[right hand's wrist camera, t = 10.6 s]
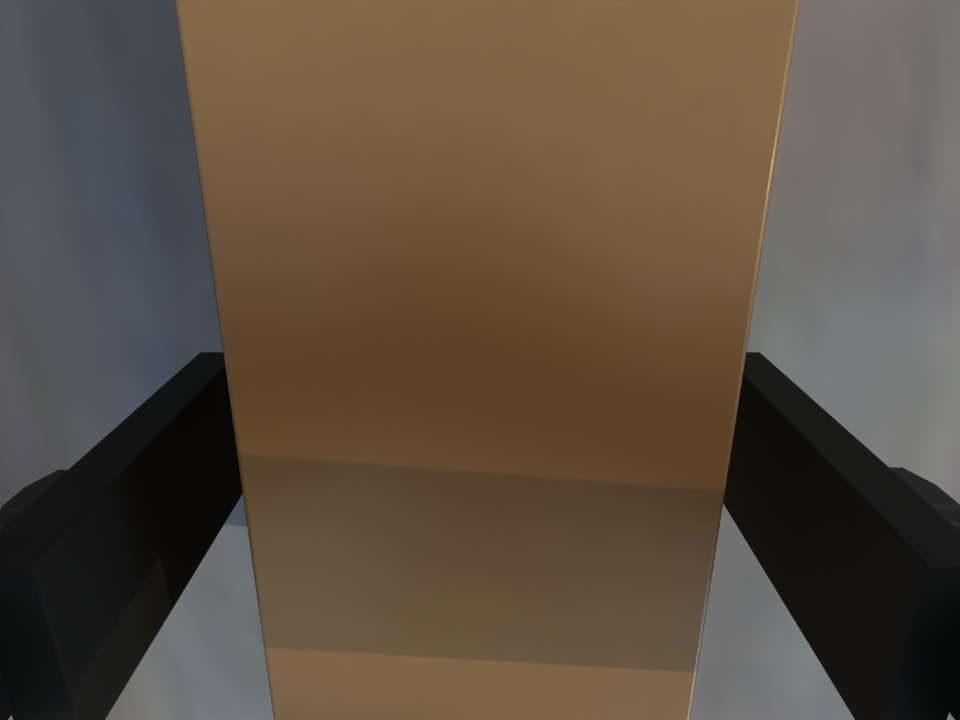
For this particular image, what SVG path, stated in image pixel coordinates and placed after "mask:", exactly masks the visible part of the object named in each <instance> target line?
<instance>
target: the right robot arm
mask: <svg viewBox="0 0 960 720" xmlns="http://www.w3.org/2000/svg"><path fill="white" fill-rule="evenodd" d="M242 494H243V490H242V483H241V476H240V469H239V461H238V454H237V447H236V440H235V432H234V425H233V418H232V411H231V404H230V396H229V389H228V382H227V375H226V367H225V360H224V353H223V352H200V353H199V354H198V355H197V356H196V357H195V358H194V359H193V360H191V361H190V362H189V363H188V364H187V365H186V366H185V367H184V368H182V369H181V370H180V371H179V372H178V373H177V374H176V375H175V376H173V377H172V378H171V379H170V380H169V381H168V382H167V383H166V384H164V385H163V386H162V387H161V388H160V389H159V390H158V391H157V392H155V393H154V394H153V395H152V396H151V397H150V398H149V399H148V400H146V401H145V402H144V403H143V404H142V405H141V406H140V407H139V408H137V409H136V410H135V411H134V412H133V413H132V414H131V415H130V416H128V417H127V418H126V419H125V420H124V421H123V422H122V423H121V424H119V425H118V426H117V427H116V428H115V429H114V430H113V431H112V432H110V433H109V434H108V435H107V436H106V437H105V438H104V439H103V440H101V441H100V442H99V443H98V444H97V445H96V446H95V447H94V448H92V449H91V450H90V451H89V452H88V453H87V454H86V455H85V456H83V457H82V458H81V459H80V460H79V461H78V462H77V463H76V464H74V465H73V466H72V467H71V468H70V469H69V470H57V471H55V472H53V473H51V474H50V475H48V476H46V477H44V478H42V479H40V480H38V481H36V482H34V483H32V484H30V485H28V486H26V487H24V488H23V489H22V490H21V491H20V492H19V493H17V494H16V495H15V496H14V497H13V498H11V499H10V500H9V501H8V502H7V503H5V504H4V505H3V506H2V507H1V510H0V720H8V719H9V717H10V716H11V715H12V717H13V720H105V719H106V717H107V715H108V714H109V712H110V710H111V709H112V707H113V706H114V704H115V702H116V701H117V699H118V697H119V696H120V694H121V692H122V691H123V689H124V687H125V686H126V684H127V683H128V681H129V679H130V678H131V676H132V674H133V673H134V671H135V669H136V668H137V666H138V664H139V663H140V661H141V660H142V658H143V656H144V655H145V653H146V651H147V650H148V648H149V646H150V645H151V643H152V642H153V640H154V638H155V637H156V635H157V633H158V632H159V630H160V628H161V627H162V625H163V623H164V622H165V620H166V619H167V617H168V615H169V614H170V612H171V610H172V609H173V607H174V605H175V604H176V602H177V600H178V599H179V597H180V596H181V594H182V592H183V591H184V589H185V587H186V586H187V584H188V582H189V581H190V579H191V578H192V576H193V574H194V573H195V571H196V569H197V568H198V566H199V564H200V563H201V561H202V559H203V558H204V556H205V555H206V553H207V551H208V550H209V548H210V546H211V545H212V543H213V541H214V540H215V538H216V536H217V535H218V533H219V532H220V530H221V528H222V527H223V525H224V523H225V522H226V520H227V518H228V517H229V515H230V513H231V512H232V510H233V509H234V507H235V505H236V504H237V502H238V500H239V499H240V497H241V495H242ZM723 504H724V505H725V507H726V509H727V510H728V512H729V513H730V515H731V517H732V518H733V520H734V522H735V523H736V525H737V527H738V528H739V530H740V532H741V533H742V535H743V536H744V538H745V540H746V541H747V543H748V545H749V546H750V548H751V550H752V551H753V553H754V555H755V556H756V558H757V559H758V561H759V563H760V564H761V566H762V568H763V569H764V571H765V573H766V574H767V576H768V577H769V579H770V581H771V582H772V584H773V586H774V587H775V589H776V591H777V592H778V594H779V596H780V597H781V599H782V600H783V602H784V604H785V605H786V607H787V609H788V610H789V612H790V614H791V615H792V617H793V619H794V620H795V622H796V623H797V625H798V627H799V628H800V630H801V632H802V633H803V635H804V637H805V638H806V640H807V642H808V643H809V645H810V646H811V648H812V650H813V651H814V653H815V655H816V656H817V658H818V660H819V661H820V663H821V664H822V666H823V668H824V669H825V671H826V673H827V674H828V676H829V678H830V679H831V681H832V683H833V684H834V686H835V687H836V689H837V691H838V692H839V694H840V696H841V697H842V699H843V701H844V702H845V704H846V706H847V707H848V709H849V710H850V712H851V714H852V715H853V717H854V719H855V720H947V717H948V714H949V712H950V714H951V715H952V716H953V718H954V719H955V720H960V505H959V504H958V503H957V502H956V501H955V500H953V499H952V498H951V497H950V496H949V495H947V494H946V493H945V492H944V491H943V490H941V489H940V488H939V487H938V486H937V485H935V484H933V483H931V482H929V481H927V480H925V479H923V478H921V477H920V476H918V475H916V474H914V473H912V472H910V471H908V470H906V469H904V468H889V467H888V466H887V465H886V464H884V463H883V462H882V461H881V460H880V459H879V458H878V457H877V456H875V455H874V454H873V453H872V452H871V451H870V450H869V449H868V448H866V447H865V446H864V445H863V444H862V443H861V442H860V441H859V440H857V439H856V438H855V437H854V436H853V435H852V434H851V433H850V432H848V431H847V430H846V429H845V428H844V427H843V426H842V425H841V424H839V423H838V422H837V421H836V420H835V419H834V418H833V417H832V416H830V415H829V414H828V413H827V412H826V411H825V410H824V409H823V408H821V407H820V406H819V405H818V404H817V403H816V402H815V401H814V400H812V399H811V398H810V397H809V396H808V395H807V394H806V393H805V392H803V391H802V390H801V389H800V388H799V387H798V386H797V385H796V384H794V383H793V382H792V381H791V380H790V379H789V378H788V377H787V376H785V375H784V374H783V373H782V372H781V371H780V370H779V369H778V368H776V367H775V366H774V365H773V364H772V363H771V362H770V361H769V360H767V359H766V358H765V357H764V356H763V355H762V354H761V353H760V352H746V357H745V363H744V370H743V376H742V383H741V389H740V396H739V402H738V409H737V415H736V422H735V428H734V435H733V441H732V448H731V454H730V461H729V467H728V474H727V480H726V487H725V493H724V500H723Z"/></svg>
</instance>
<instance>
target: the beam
mask: <svg viewBox="0 0 960 720" xmlns="http://www.w3.org/2000/svg"><path fill="white" fill-rule="evenodd" d="M175 6H176V13H177V20H178V27H179V35H180V42H181V49H182V56H183V64H184V71H185V78H186V85H187V92H188V100H189V107H190V114H191V121H192V129H193V136H194V143H195V150H196V158H197V165H198V172H199V179H200V187H201V194H202V201H203V208H204V215H205V223H206V230H207V237H208V244H209V252H210V259H211V266H212V273H213V281H214V288H215V295H216V302H217V310H218V317H219V324H220V331H221V338H222V346H223V353H224V360H225V367H226V375H227V382H228V389H229V396H230V404H231V411H232V418H233V425H234V432H235V440H236V447H237V454H238V461H239V469H240V476H241V483H242V490H243V498H244V505H245V512H246V519H247V527H248V534H249V541H250V548H251V555H252V563H253V570H254V577H255V584H256V592H257V599H258V606H259V613H260V621H261V628H262V635H263V642H264V650H265V657H266V664H267V671H268V678H269V686H270V693H271V700H272V707H273V715H274V720H690V714H691V707H692V701H693V694H694V688H695V681H696V675H697V669H698V662H699V656H700V649H701V643H702V636H703V630H704V623H705V617H706V610H707V604H708V597H709V591H710V584H711V578H712V571H713V565H714V558H715V552H716V545H717V539H718V532H719V526H720V519H721V513H722V506H723V500H724V493H725V487H726V480H727V474H728V467H729V461H730V454H731V448H732V441H733V435H734V428H735V422H736V415H737V409H738V402H739V396H740V389H741V383H742V376H743V370H744V363H745V357H746V350H747V344H748V337H749V331H750V324H751V318H752V311H753V305H754V299H755V292H756V286H757V279H758V273H759V266H760V260H761V253H762V247H763V240H764V234H765V227H766V221H767V214H768V208H769V201H770V195H771V188H772V182H773V175H774V169H775V162H776V156H777V149H778V143H779V136H780V130H781V123H782V117H783V110H784V104H785V97H786V91H787V84H788V78H789V71H790V65H791V58H792V52H793V45H794V39H795V32H796V26H797V19H798V13H799V6H800V0H175Z"/></svg>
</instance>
